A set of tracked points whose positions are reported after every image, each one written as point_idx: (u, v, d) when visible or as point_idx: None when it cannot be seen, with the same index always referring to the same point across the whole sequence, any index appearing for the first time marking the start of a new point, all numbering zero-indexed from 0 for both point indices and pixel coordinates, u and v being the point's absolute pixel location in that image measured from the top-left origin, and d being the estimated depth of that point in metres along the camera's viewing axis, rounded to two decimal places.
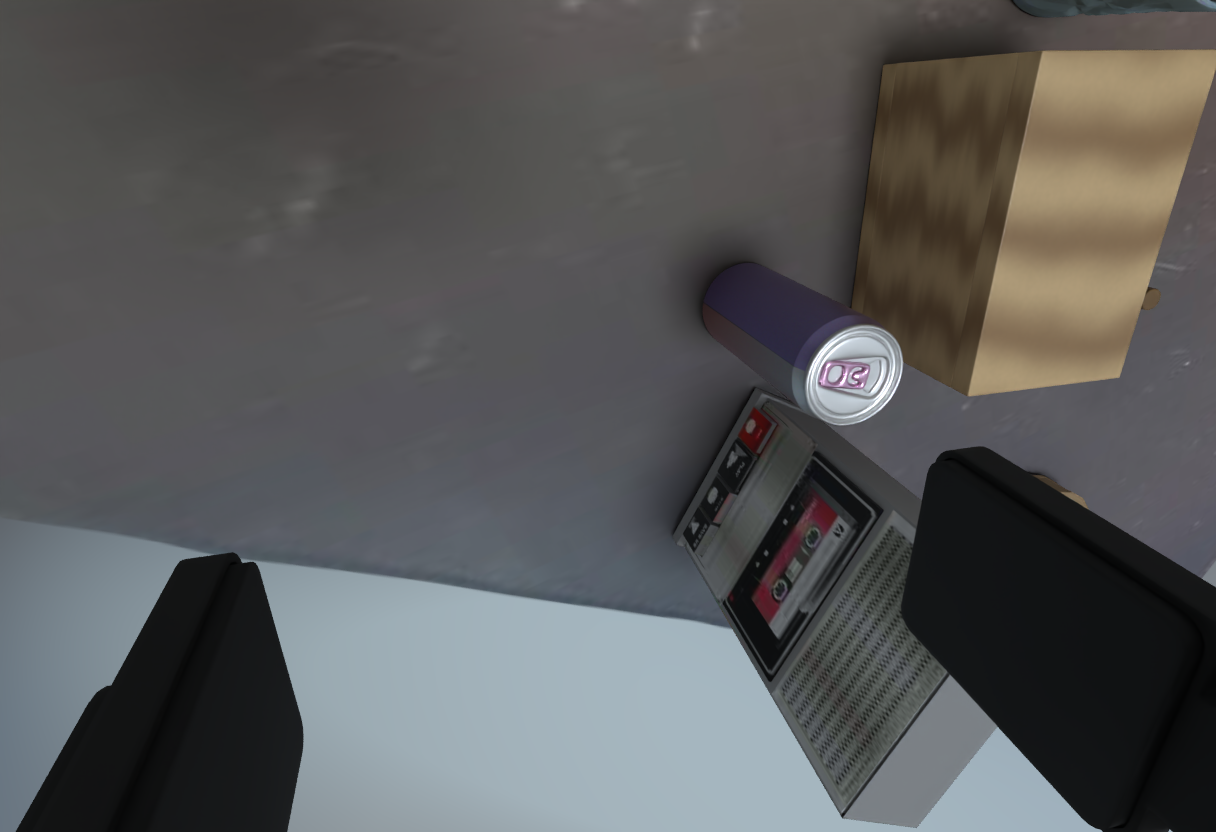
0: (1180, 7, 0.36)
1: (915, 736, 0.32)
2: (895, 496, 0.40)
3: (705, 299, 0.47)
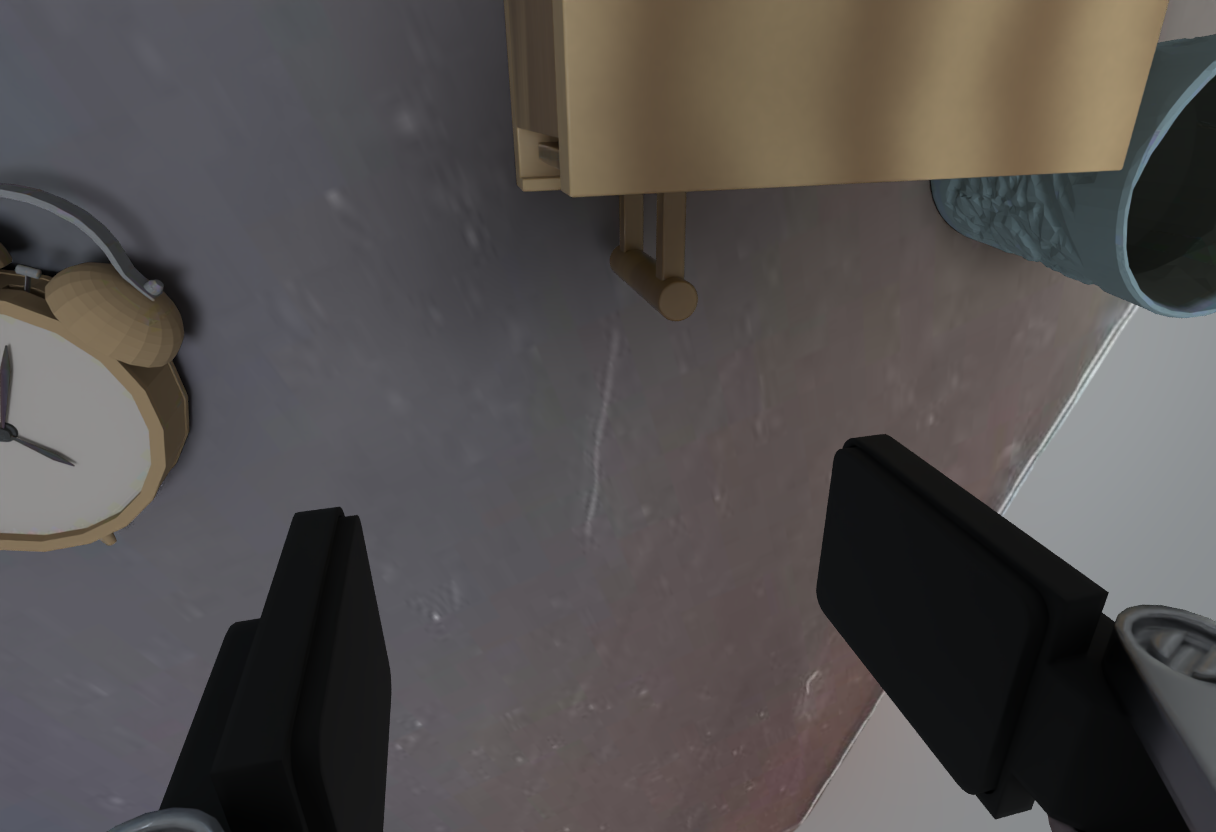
0: None
1: None
2: None
3: None
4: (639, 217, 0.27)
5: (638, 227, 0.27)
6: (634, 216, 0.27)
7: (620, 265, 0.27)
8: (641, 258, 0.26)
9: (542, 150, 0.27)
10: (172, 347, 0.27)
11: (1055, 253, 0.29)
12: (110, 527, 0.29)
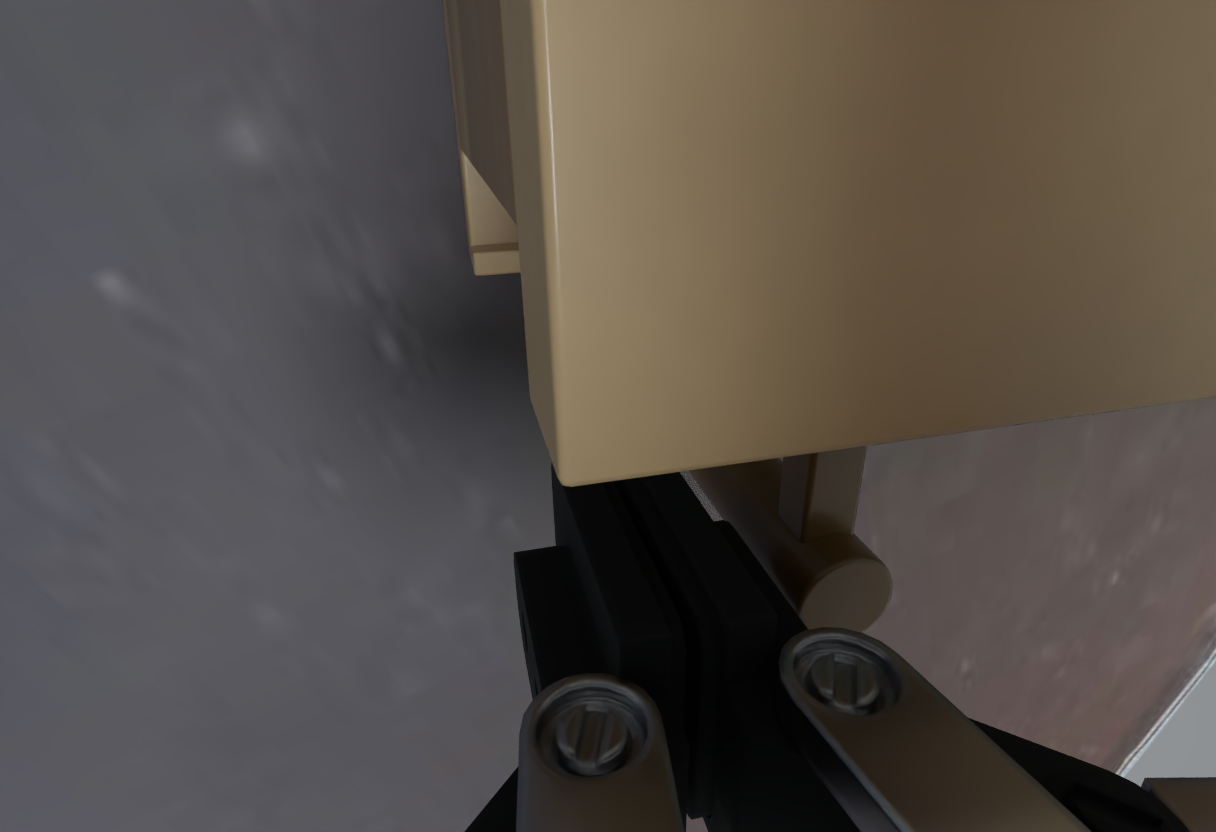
0: None
1: None
2: None
3: None
4: None
5: None
6: None
7: None
8: None
9: None
10: None
11: None
12: None
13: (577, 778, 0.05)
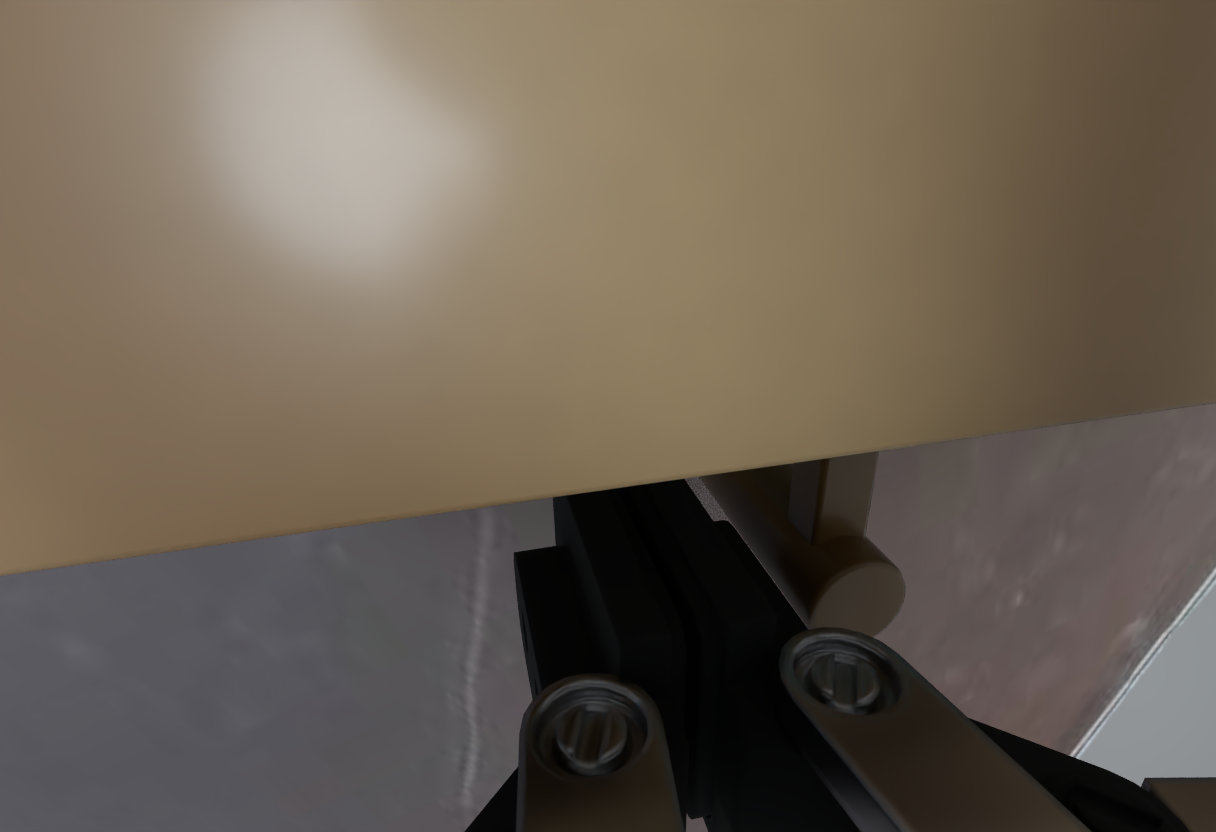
0: None
1: None
2: None
3: None
4: None
5: None
6: None
7: None
8: None
9: None
10: None
11: None
12: None
13: (577, 779, 0.05)
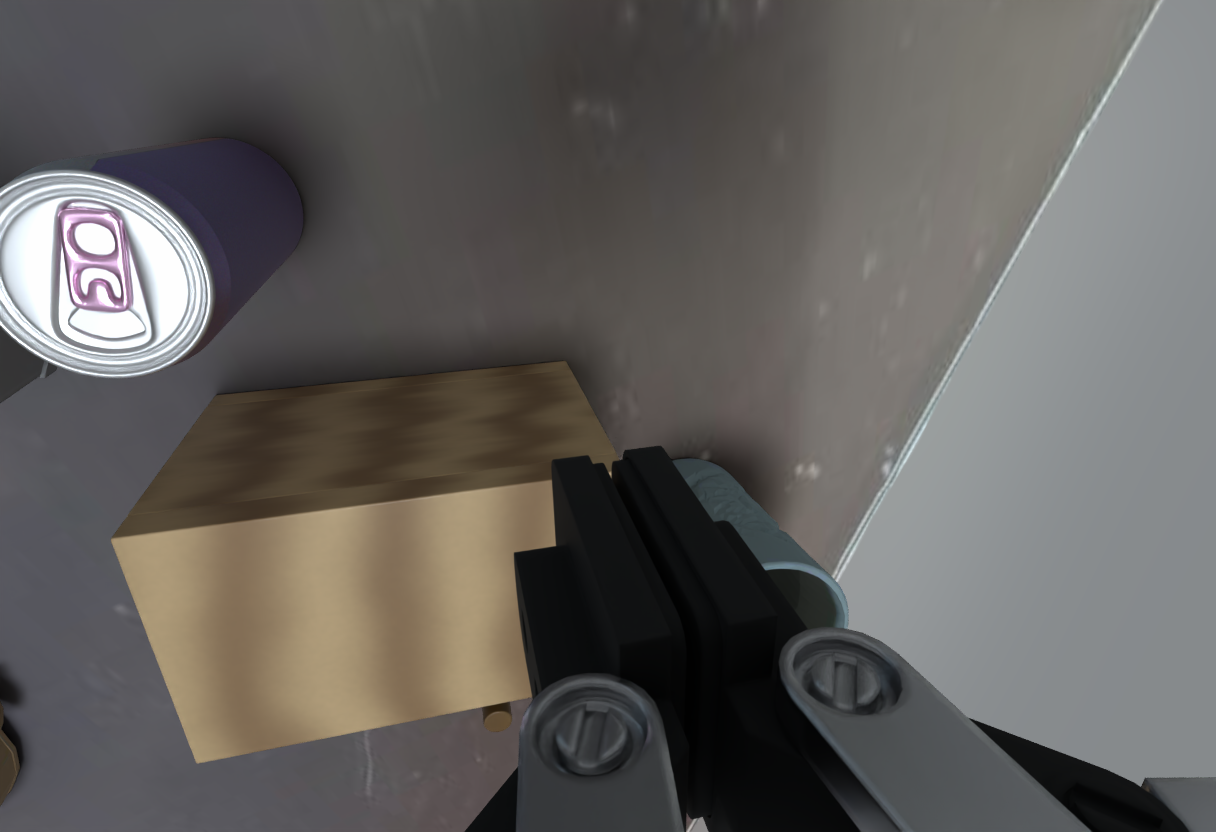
0: None
1: None
2: None
3: (232, 139, 0.30)
4: None
5: None
6: None
7: None
8: None
9: None
10: None
11: None
12: None
13: (577, 778, 0.05)
